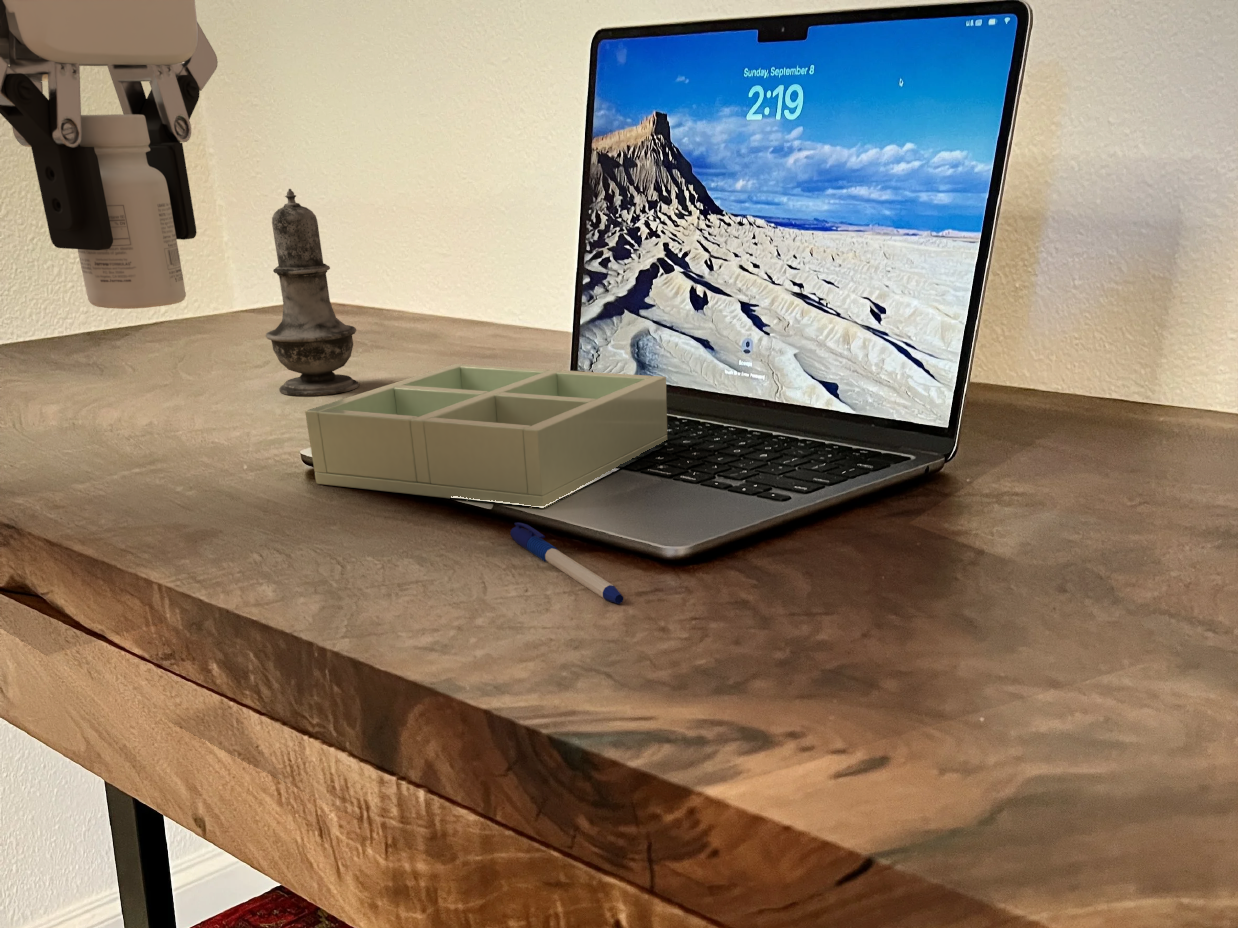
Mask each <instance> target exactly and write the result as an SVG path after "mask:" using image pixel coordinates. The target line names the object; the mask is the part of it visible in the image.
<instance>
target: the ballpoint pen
mask: <svg viewBox="0 0 1238 928" xmlns="http://www.w3.org/2000/svg"><path fill="white" fill-rule="evenodd" d="M514 525H515V526H514V527H512V528H511V530H510V532H509V533H510V536H511V538H512V540H513V541H514V542H515V543H516V544H518V545H519V546H521V547H522V548H523V549H525V550H526V551H528V552H530V553H531V554H532V555H534V556H535V557H537V558H539V559H540V560H541V561H543V562H544V563H548V564H550V565H551V566H553V567H555V568H556V569H558V570H559V571H561V572H562V573H563V574H565V575H567V576H568V577H570V578H571V579H573V580H574V581H575V582H577V583H579V584H581V586H583V587H585V588H586V589H588V590H589V591H591V592H592V593H594V594H595V595H597V596H598V597H600V598H601V599H603V600H605V601H606V602H610V603H613V604H618V605H620V604H622V603H623V601H624V596H623V595H622V593H621V592H620V591H619V590H618V589H617V588H616V586H615V585H614V584H612V583H610V582H609V581H607V580H606V579H604V578H602V577H601V576H600V575H598V574H596V573H595V572H593V571H592V570H590V569H588V568H587V567H585V566H583V565H582V564H580V563H578V562H577V561H575V560H574V559H573V558H571V557H569V556H568V555H566V554H564V553H563V552H562V551H560V550H559V549H558V548H557V547H556V546H554V545H552V544H551V543H550V542H549V541H546V540H544V538H546V536H545V535H544V534H543V533H541V532H540V531H538V530H537V529H535V528H534V527H532V526H531V525H529V524H527V523H524V522H514Z"/></svg>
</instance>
